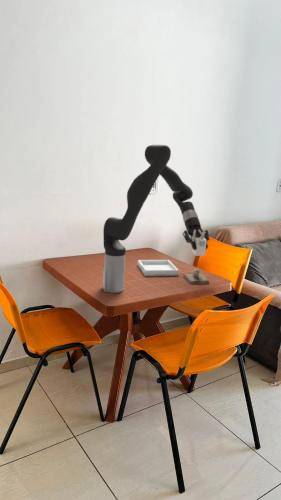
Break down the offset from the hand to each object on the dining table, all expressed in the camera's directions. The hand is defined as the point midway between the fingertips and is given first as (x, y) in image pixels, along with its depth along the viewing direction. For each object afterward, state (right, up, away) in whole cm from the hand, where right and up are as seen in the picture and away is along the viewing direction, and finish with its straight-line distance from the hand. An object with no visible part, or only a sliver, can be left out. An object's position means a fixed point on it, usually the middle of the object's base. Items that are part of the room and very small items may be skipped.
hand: (200, 248), depth 189 cm
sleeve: (-1, -3, +2) cm, 4 cm away
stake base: (-2, -16, +6) cm, 17 cm away
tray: (-21, -12, +17) cm, 29 cm away
